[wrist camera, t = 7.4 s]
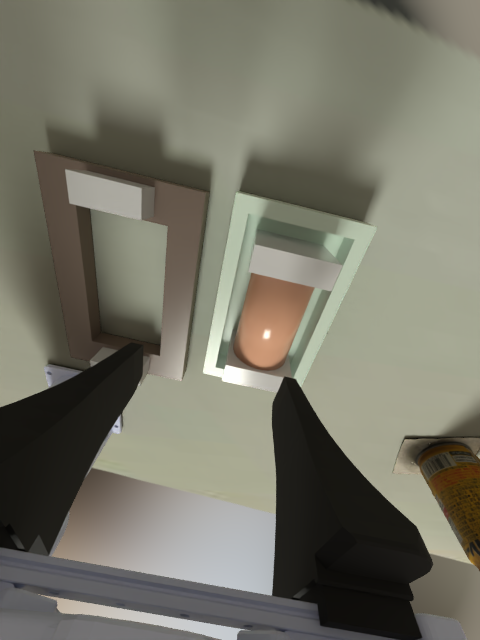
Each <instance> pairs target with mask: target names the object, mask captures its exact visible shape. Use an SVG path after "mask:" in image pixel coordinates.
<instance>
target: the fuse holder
mask: <svg viewBox="0 0 480 640" xmlns="http://www.w3.org/2000/svg"><path fill="white" fill-rule="evenodd" d="M34 155H35V161H36V166H37V172H38V177H39V183H40V189H41V194H42V200H43V205H44V211H45V216H46V222H47V227H48V233H49V239H50V244H51V250H52V255H53V261H54V266H55V272H56V277H57V283H58V289H59V294H60V300H61V305H62V311H63V316H64V322H65V327H66V333H67V339H68V344H69V350H70V355H71V357H72V358H76V359H81V360H86V361H90V365H91V367H92V366H94V365H95V364H97V363H99V362H100V361H102V360H104V359H105V358H107V357H108V356H110V355H112V354H113V353H115V352H116V351H118V350H120V349H121V348H123V347H124V346H126V345H128V344H129V343H131V342H133V343H137V344H142V345H144V349H143V376H142V378H141V380H140V382H139V384H138V386H140V385H141V384H142V382H143V380H144V379H145V377H146V375H147V374H151V375H156V376H160V377H165V378H170V379H174V380H179V381H182V379H183V377H184V374H185V372H186V365H187V358H188V351H189V343H190V336H191V328H192V321H193V313H194V306H195V298H196V291H197V284H198V276H199V269H200V261H201V254H202V246H203V239H204V232H205V224H206V217H207V209H208V202H209V194H210V192H208V191H204V190H200V189H196V188H192V187H188V186H184V185H180V184H176V183H172V182H168V181H164V180H160V179H156V178H152V177H148V176H144V175H140V174H135V173H131V172H127V171H123V170H119V169H115V168H111V167H107V166H103V165H99V164H95V163H91V162H87V161H83V160H79V159H75V158H71V157H67V156H62V155H58V154H54V153H49V152H42V151H34ZM90 208H91V209H95V210H99V211H103V212H107V213H111V214H116V215H120V216H124V217H128V218H132V219H137V220H141V221H142V220H145V221H149V222H153V223H157V224H162V225H166V226H168V232H167V249H166V266H165V282H164V299H163V316H162V332H161V346H160V345H156V344H151V343H147V342H142V341H138V340H133V339H128V338H124V337H119V336H115V335H110V334H106V333H101V326H100V315H99V304H98V293H97V282H96V271H95V261H94V250H93V239H92V228H91V217H90Z"/></svg>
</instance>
